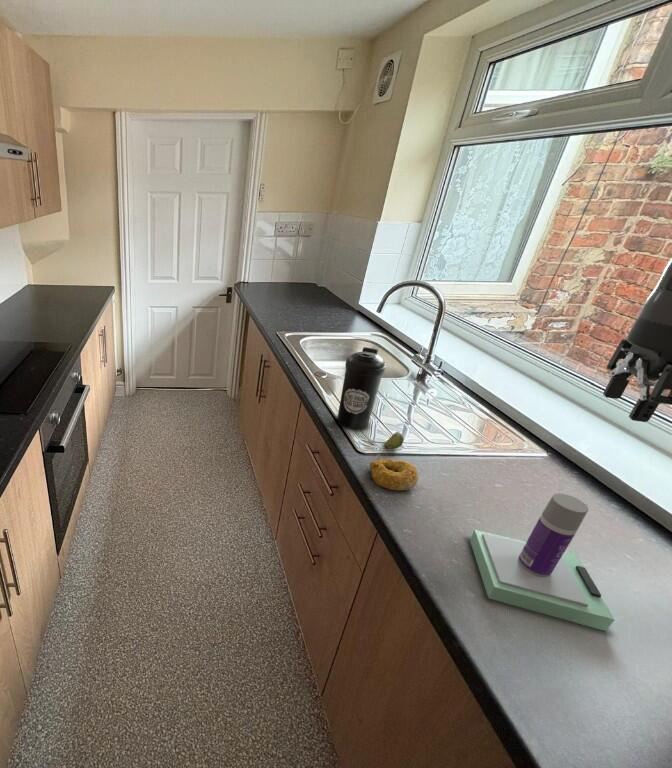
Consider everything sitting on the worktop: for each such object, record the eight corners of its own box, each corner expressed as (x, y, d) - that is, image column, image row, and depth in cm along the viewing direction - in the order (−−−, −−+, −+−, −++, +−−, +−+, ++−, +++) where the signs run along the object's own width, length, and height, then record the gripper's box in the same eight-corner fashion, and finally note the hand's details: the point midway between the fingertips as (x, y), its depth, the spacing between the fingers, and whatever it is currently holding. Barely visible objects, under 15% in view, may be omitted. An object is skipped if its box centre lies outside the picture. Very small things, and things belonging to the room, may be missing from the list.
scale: (568, 564, 79) (577, 551, 77) (606, 631, 67) (616, 617, 66) (469, 540, 84) (475, 527, 83) (488, 598, 73) (495, 584, 71)
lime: (384, 450, 112) (388, 435, 110) (381, 441, 116) (385, 426, 114) (402, 453, 111) (407, 438, 108) (399, 443, 115) (403, 428, 112)
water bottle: (330, 424, 124) (344, 353, 113) (338, 410, 131) (353, 342, 121) (366, 435, 119) (385, 361, 108) (373, 419, 126) (391, 349, 116)
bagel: (389, 462, 107) (394, 447, 105) (425, 489, 98) (431, 473, 96) (357, 469, 105) (361, 454, 103) (391, 498, 95) (396, 482, 93)
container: (550, 582, 72) (589, 517, 65) (516, 566, 74) (550, 503, 68) (551, 565, 75) (589, 501, 68) (519, 551, 78) (552, 488, 71)
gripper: (743, 336, 57) (679, 433, 65) (677, 308, 69) (629, 393, 76) (670, 329, 60) (616, 424, 67) (618, 304, 72) (577, 387, 79)
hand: (623, 408), depth 72 cm, fingers open, 8 cm apart
